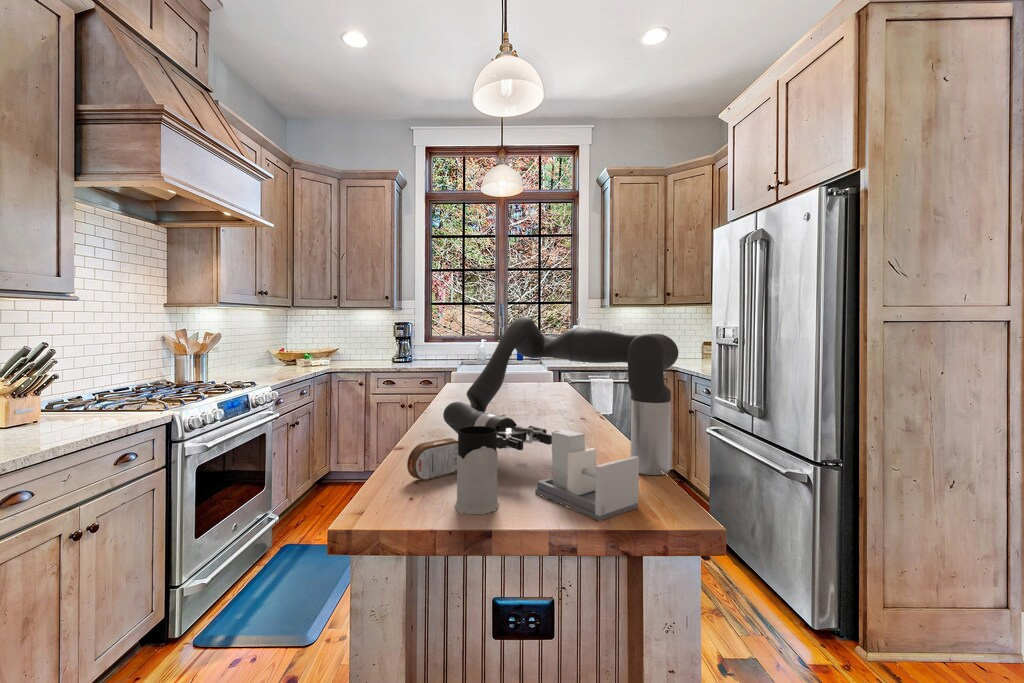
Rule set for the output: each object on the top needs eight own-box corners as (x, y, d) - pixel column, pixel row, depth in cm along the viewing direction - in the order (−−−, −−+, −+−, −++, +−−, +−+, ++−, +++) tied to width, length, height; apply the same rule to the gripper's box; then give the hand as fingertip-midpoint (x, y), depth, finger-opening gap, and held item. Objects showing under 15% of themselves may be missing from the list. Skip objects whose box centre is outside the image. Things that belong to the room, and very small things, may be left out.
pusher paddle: (591, 488, 104) (592, 447, 103) (613, 496, 99) (614, 454, 99) (567, 495, 100) (567, 453, 99) (589, 504, 95) (589, 460, 94)
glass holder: (461, 517, 91) (461, 437, 91) (442, 492, 105) (442, 421, 104) (506, 511, 95) (506, 433, 94) (482, 487, 108) (482, 419, 107)
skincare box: (586, 491, 103) (587, 433, 102) (570, 496, 100) (571, 436, 100) (565, 483, 108) (566, 428, 107) (550, 487, 105) (550, 431, 104)
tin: (459, 468, 122) (459, 434, 121) (467, 471, 119) (467, 436, 119) (406, 482, 111) (406, 445, 111) (414, 486, 109) (414, 448, 108)
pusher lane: (573, 483, 111) (573, 439, 111) (638, 507, 97) (638, 457, 96) (535, 493, 104) (535, 446, 104) (599, 521, 90) (599, 467, 90)
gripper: (471, 418, 121) (512, 430, 108) (517, 412, 129) (560, 422, 116) (471, 449, 121) (511, 464, 108) (517, 440, 130) (560, 454, 117)
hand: (536, 442), depth 112 cm, fingers open, 8 cm apart
